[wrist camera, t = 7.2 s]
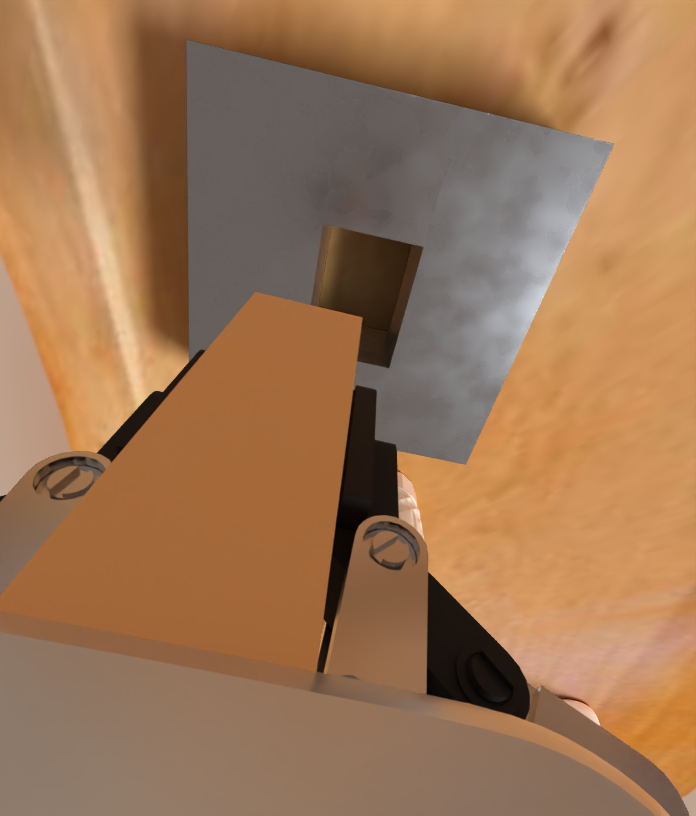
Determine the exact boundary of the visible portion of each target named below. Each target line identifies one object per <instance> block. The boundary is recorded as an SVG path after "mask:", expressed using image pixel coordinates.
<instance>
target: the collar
mask: <svg viewBox="0 0 696 816" xmlns="http://www.w3.org/2000/svg"><path fill="white" fill-rule="evenodd" d="M186 67H187V182H188V297H189V362H190V360H191V359H192V358H193V357H194V356H195V355H196V354H197V352H198V351H199V350H201V349H202V350H207V349H208V348H209V346H210V345H211V344H212V343H213V342H214V340H215V339H216V338H217V337H218V336H219V334H220V333H221V332H222V331H223V330H224V329H225V327H226V326H227V325H228V324H229V323H230V321H231V320H232V319H233V318H234V317H235V315H236V314H237V313H238V312H239V311H240V310H241V308H242V307H243V306H244V305H245V304H246V302H247V301H248V300H249V299H250V298H251V296H252V295H253V294H254V293H255V292H258V293H262V294H267V295H271V296H275V297H279V298H283V299H288V300H292V301H296V302H300V303H304V304H308V305H313V306H317V307H318V306H319V300H320V294H321V287H322V281H323V275H324V269H325V263H326V257H327V251H328V245H329V239H330V233H331V227H332V226H334V227H338V228H343V229H347V230H351V231H356V232H360V233H365V234H369V235H373V236H378V237H382V238H387V239H391V240H395V241H400V242H404V243H408V244H412V247H411V250H410V254H409V258H408V262H407V265H406V269H405V273H404V276H403V280H402V284H401V287H400V291H399V295H398V299H397V302H396V306H395V310H394V313H393V317H392V321H391V325H390V328H389V332H388V331H384V330H379V329H374V328H370V327H365V326H361V334H360V342H359V349H358V357H357V365H356V372H355V380H354V388H353V390H355V387H356V385H359V386H363V387H367V388H372V389H376V390H377V399H376V424H375V440H379V441H383V442H388V443H392V444H395V445H396V448H397V451H402V452H407V453H412V454H416V455H421V456H426V457H431V458H436V459H441V460H446V461H451V462H455V463H460V464H465V465H466V463H467V461H468V459H469V456H470V454H471V452H472V450H473V448H474V446H475V444H476V441H477V439H478V437H479V435H480V433H481V431H482V428H483V426H484V424H485V422H486V420H487V418H488V415H489V413H490V411H491V409H492V407H493V405H494V402H495V400H496V398H497V396H498V394H499V392H500V390H501V387H502V385H503V383H504V381H505V379H506V377H507V374H508V372H509V370H510V368H511V366H512V364H513V361H514V359H515V357H516V355H517V353H518V351H519V349H520V346H521V344H522V342H523V340H524V338H525V336H526V333H527V331H528V329H529V327H530V325H531V323H532V320H533V318H534V316H535V314H536V312H537V310H538V307H539V305H540V303H541V301H542V299H543V297H544V295H545V292H546V290H547V288H548V286H549V284H550V282H551V279H552V277H553V275H554V273H555V271H556V269H557V266H558V264H559V262H560V260H561V258H562V256H563V253H564V251H565V249H566V247H567V245H568V243H569V241H570V238H571V236H572V234H573V232H574V230H575V228H576V225H577V223H578V221H579V219H580V217H581V215H582V212H583V210H584V208H585V206H586V204H587V202H588V199H589V197H590V195H591V193H592V191H593V189H594V187H595V184H596V182H597V180H598V178H599V176H600V174H601V171H602V169H603V167H604V165H605V163H606V161H607V158H608V156H609V154H610V152H611V150H612V148H613V145H614V144H613V143H609V142H605V141H601V140H596V139H592V138H588V137H584V136H580V135H576V134H572V133H568V132H564V131H560V130H555V129H551V128H547V127H543V126H539V125H535V124H531V123H527V122H523V121H518V120H514V119H510V118H506V117H502V116H498V115H494V114H490V113H486V112H482V111H477V110H473V109H469V108H465V107H461V106H457V105H453V104H449V103H445V102H440V101H436V100H432V99H428V98H424V97H420V96H416V95H412V94H408V93H404V92H399V91H395V90H391V89H387V88H383V87H379V86H375V85H371V84H367V83H363V82H358V81H354V80H350V79H346V78H342V77H338V76H334V75H330V74H326V73H321V72H317V71H313V70H309V69H305V68H301V67H297V66H293V65H289V64H285V63H280V62H276V61H272V60H268V59H264V58H260V57H256V56H252V55H248V54H243V53H239V52H235V51H231V50H227V49H223V48H219V47H215V46H211V45H207V44H202V43H198V42H194V41H190V40H186Z"/></svg>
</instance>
